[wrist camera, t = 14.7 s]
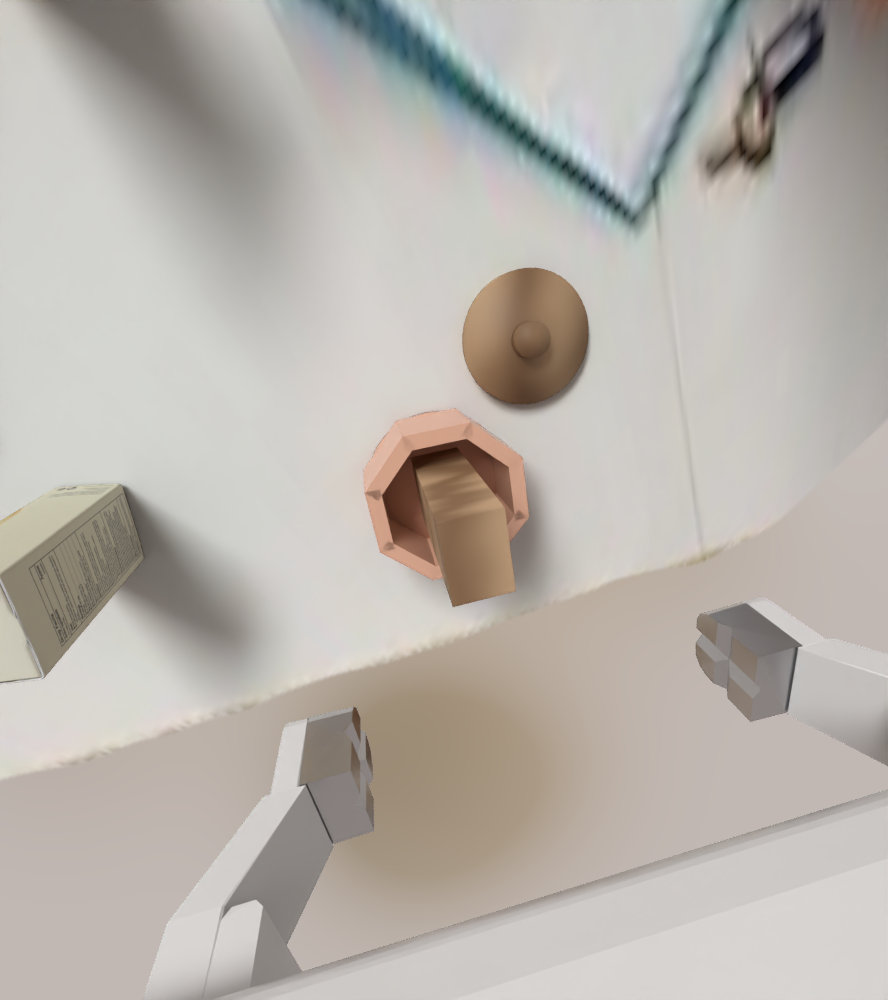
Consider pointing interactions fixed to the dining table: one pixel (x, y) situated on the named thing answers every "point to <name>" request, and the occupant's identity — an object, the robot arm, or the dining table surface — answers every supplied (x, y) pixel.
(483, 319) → the jar lid
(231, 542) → the dining table surface
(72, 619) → the skincare box
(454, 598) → the brown wooden block
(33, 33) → the dining table surface
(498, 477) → the jar
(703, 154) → the dining table surface
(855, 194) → the dining table surface
